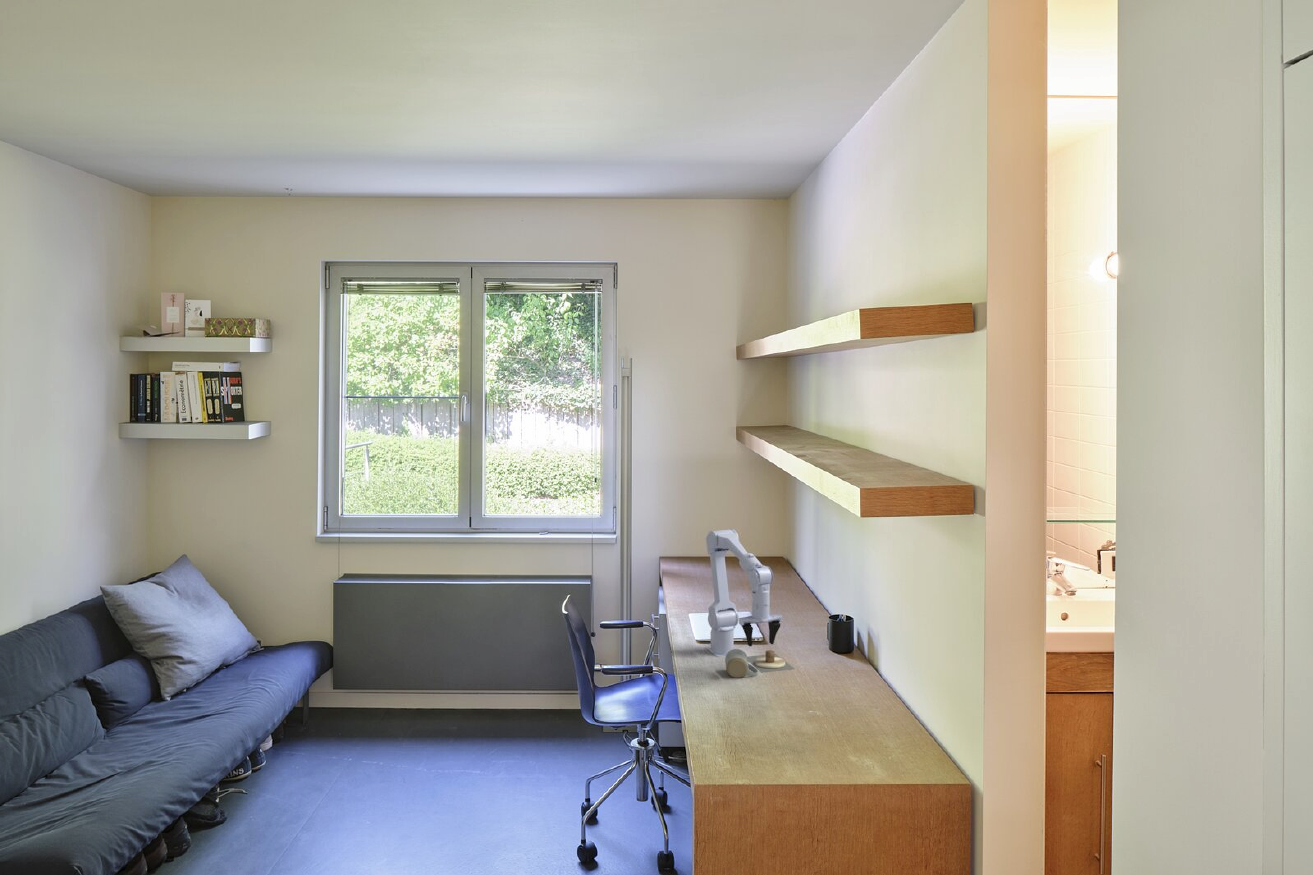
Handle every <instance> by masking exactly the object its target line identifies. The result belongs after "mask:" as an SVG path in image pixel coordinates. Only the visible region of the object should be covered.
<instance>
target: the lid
mask: <svg viewBox="0 0 1313 875" xmlns="http://www.w3.org/2000/svg"><path fill="white" fill-rule="evenodd" d="M774 654H775V651H774V650H771V649H768V650H765V655H766V657H759V658H757V659H755V665H756V666H758V667H761V668H765V669H778V668H782V667H784V666H785V659H783V658H782V657H780V658H778V657H774ZM781 658H782V659H781Z"/></svg>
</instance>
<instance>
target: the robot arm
mask: <svg viewBox="0 0 1313 875" xmlns="http://www.w3.org/2000/svg"><path fill="white" fill-rule="evenodd" d="M739 538H740V537H739V534H738V533H737V531H736V530H735V529H734V528H729V529H722V530H721V529H720V530H710V531H708V533H707V534H706V537H705V541H706V550H707V554H708V555H709V559H710V561H709V562H710V569H711V577H712V578H711V580H712V588H713V596H714V598H713V599H714V601H713V603H712V604H711V605H709V607H708V609H707V610H708V617H707V622H708V625H709V626H710V628H711V630H710V647H708V648H707V650H709V651H710V652H711V654H713V655H714V656H715V657H718V658H719V657H720V658H721V657H726V655H727V653H728V652H729V651H730V650H732V649H735V648H734V647H735V646H734V637H735V636H734V634H735V633H734V630H735V629H736V626H737V625H738V624H739V625H740V627H741V628H742V630H743V632H744V634H745V639H746V642H747V646H749V647H752V646H753V630H754V627H753V626H752V624H753V625H755V624H766V623H767V625H768V633H769V634H768V642H769V644H770V645H774V644H775V640H776V636H777V634H778V631H779V629H780V628H781V623H782V622H783V615H781V614H770V605H771V604H770V600H771V599H770V598H771V597H770V593H771V590H770V586H771V584H772V583H773V581H774V573H773V571H772V568H771V567H770V566H765V564H764V565H763V564H762V563H761V561H759V559H758V558H757V557H756V556H755V554H754V553H750V552H747V550H746V549H745V547H744V546H743V545H742V543H741V542H740V539H739ZM728 552H729V553H730V552H731V553H732V554H733V555H734V556H735V557H736V558H737V559H738V560H739V562H738V563H739V566H740V567H741V568H742V570H743V571H744V572H745V573H746V574H747V576H748V581H749V585H750V591H751V606H752V607H751V615H748V616H743V617H739V612H738V611H737V605H736V604H735V603H733V602H732V601H731V600H730V593H729V586H728V585H729V584H728V576H727V575H728V574H727V568H726V566H727V565H726V558H725V556H726V555H727V553H728Z"/></svg>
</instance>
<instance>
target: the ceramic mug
mask: <svg viewBox="0 0 1313 875" xmlns="http://www.w3.org/2000/svg"><path fill="white" fill-rule="evenodd" d="M724 658H725V659H724V662H725V670H726V672H727V674H728V675H729V676H730V677H732V678H734V679H740V678H743V677H744V676H746V675H747V676H750V677H753V678H755V677H756V676H758V673H759V670H758V669H757V668H756V667H754V666H753V665H752V664H751V663H749V661H748V654H747V653H746V652H745V651H744V650H742V649H739V648H734V649H732V650H730V651H729V652H728V653H727V655H726V656H724Z"/></svg>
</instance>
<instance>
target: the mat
mask: <svg viewBox="0 0 1313 875" xmlns="http://www.w3.org/2000/svg"><path fill="white" fill-rule="evenodd" d="M747 657H748V663H749V664H750V665H752V666H753V667H755V668H756V669H757V670H758V672H760V673H770V672H779V671H790V670H795V669H796V668H794V666H792V665H791V664H789V663H788V662H787V661H785V666H784V667H782V668H778V669H765V668H761V667H758V666H756V665H755V659H757V658H759V657H766V654H760V655H751V656H748V655H747ZM774 657H778V658H781V659H783V658H782V657H780V656H779V655H778V654H776V653H774Z"/></svg>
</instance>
